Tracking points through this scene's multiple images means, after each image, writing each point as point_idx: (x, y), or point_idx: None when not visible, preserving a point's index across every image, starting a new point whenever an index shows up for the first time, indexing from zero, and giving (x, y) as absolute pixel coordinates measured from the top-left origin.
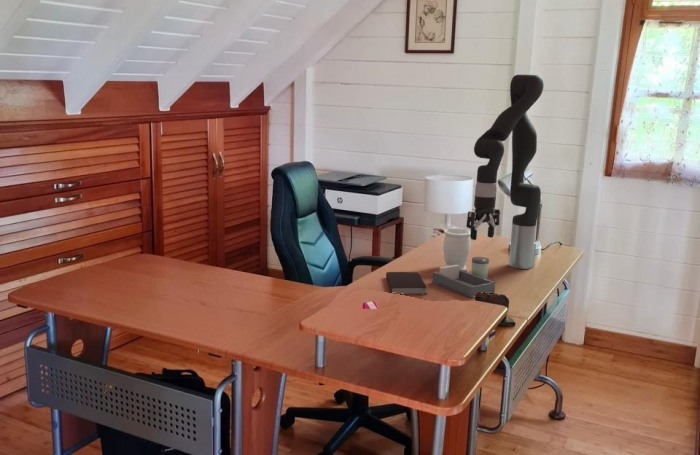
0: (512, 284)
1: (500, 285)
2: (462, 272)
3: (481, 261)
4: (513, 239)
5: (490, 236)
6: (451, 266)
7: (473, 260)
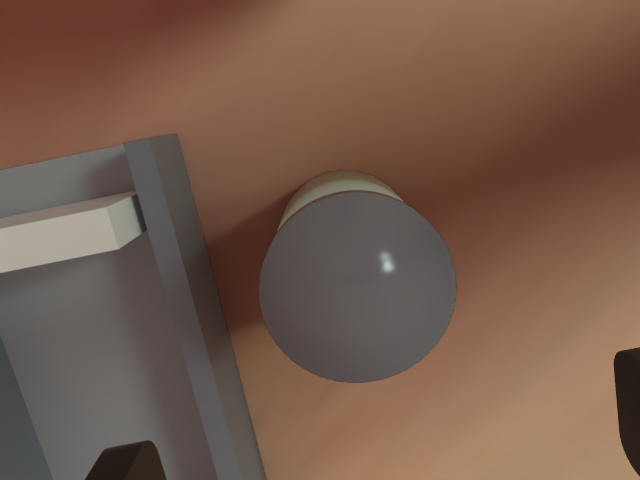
0: (524, 395)
1: (424, 389)
2: (158, 262)
3: (313, 372)
4: None
5: (630, 435)
6: (11, 259)
7: (260, 293)
